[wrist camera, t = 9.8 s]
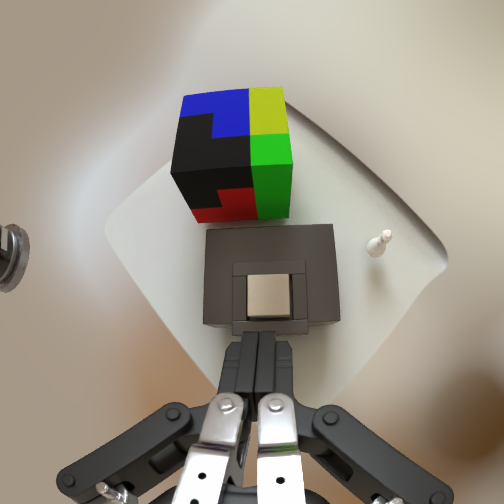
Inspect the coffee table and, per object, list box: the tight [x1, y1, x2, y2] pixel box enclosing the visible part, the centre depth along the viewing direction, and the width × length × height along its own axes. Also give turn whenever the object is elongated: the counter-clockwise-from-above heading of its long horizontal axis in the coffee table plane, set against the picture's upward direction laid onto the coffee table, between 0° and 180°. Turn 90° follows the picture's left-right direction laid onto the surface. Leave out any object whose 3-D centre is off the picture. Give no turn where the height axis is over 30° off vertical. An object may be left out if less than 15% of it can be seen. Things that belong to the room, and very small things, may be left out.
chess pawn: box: [367, 230, 392, 258], centre depth 28 cm, size 3×2×4 cm
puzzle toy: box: [170, 87, 293, 223], centre depth 29 cm, size 10×10×10 cm
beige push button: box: [248, 274, 290, 318], centre depth 23 cm, size 3×3×2 cm
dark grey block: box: [203, 224, 340, 336], centre depth 27 cm, size 12×10×6 cm
